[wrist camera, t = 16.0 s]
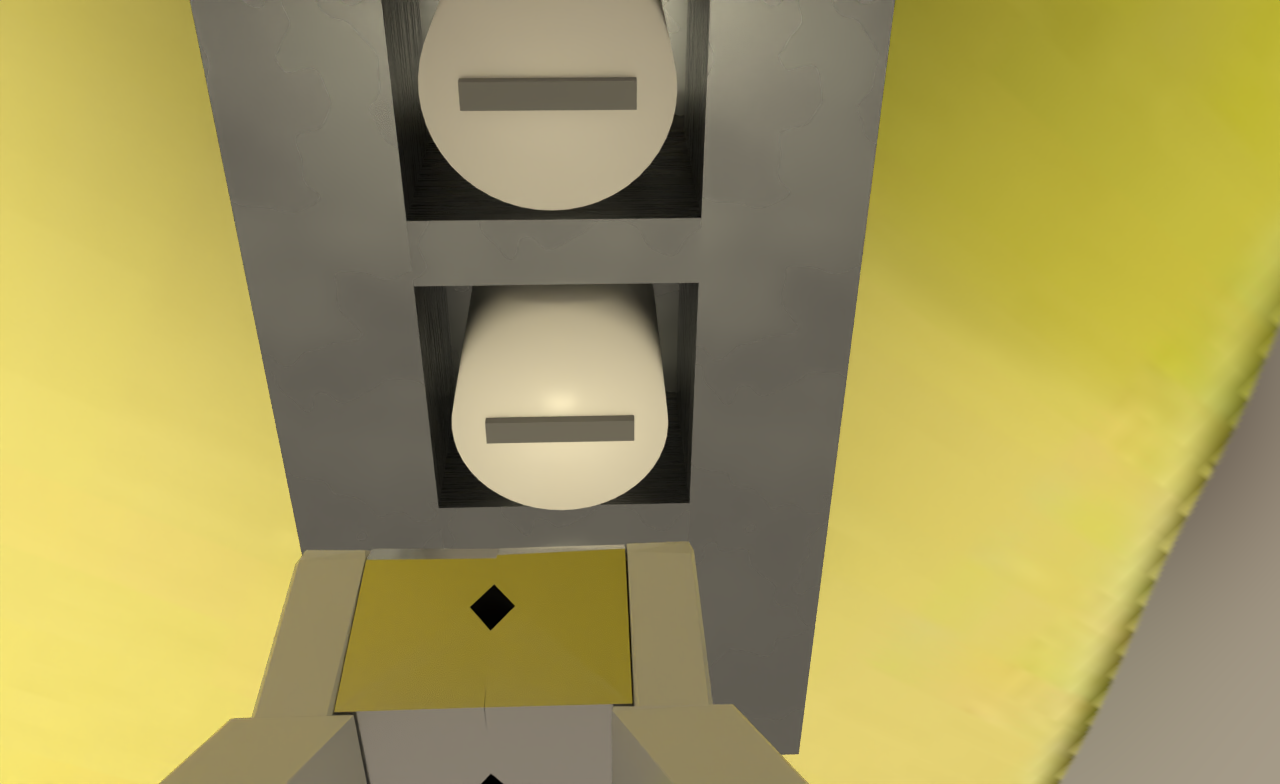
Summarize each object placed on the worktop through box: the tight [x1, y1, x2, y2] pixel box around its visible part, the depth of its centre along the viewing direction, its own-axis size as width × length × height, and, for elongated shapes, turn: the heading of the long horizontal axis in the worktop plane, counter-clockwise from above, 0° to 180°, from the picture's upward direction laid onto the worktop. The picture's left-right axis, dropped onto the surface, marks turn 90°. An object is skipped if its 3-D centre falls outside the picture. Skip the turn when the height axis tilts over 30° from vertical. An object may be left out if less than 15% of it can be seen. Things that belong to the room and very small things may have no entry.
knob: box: [418, 0, 677, 210], centre depth 22 cm, size 4×4×5 cm
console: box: [190, 0, 895, 755], centre depth 27 cm, size 12×23×6 cm, turn 0°
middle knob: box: [452, 283, 668, 510], centre depth 26 cm, size 4×4×5 cm
